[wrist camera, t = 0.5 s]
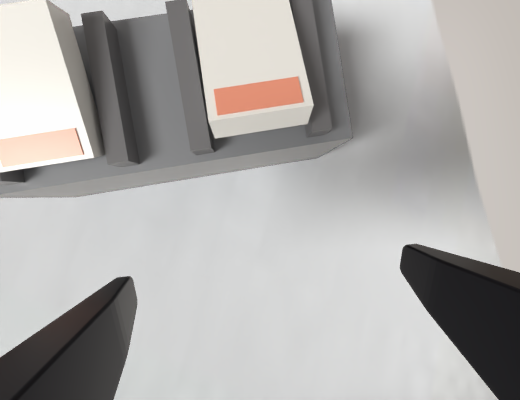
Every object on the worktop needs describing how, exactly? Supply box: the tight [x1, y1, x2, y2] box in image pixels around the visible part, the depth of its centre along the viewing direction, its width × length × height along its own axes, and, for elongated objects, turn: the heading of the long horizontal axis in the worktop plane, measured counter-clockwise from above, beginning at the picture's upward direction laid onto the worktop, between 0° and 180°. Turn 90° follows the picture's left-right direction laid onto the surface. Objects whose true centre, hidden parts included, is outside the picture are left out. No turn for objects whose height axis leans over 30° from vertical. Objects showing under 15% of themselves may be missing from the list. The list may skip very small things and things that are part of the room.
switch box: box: [0, 0, 353, 198], centre depth 18 cm, size 8×20×9 cm, turn 99°
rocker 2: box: [192, 0, 314, 139], centre depth 13 cm, size 6×4×2 cm
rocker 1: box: [0, 0, 106, 172], centre depth 13 cm, size 6×4×2 cm
